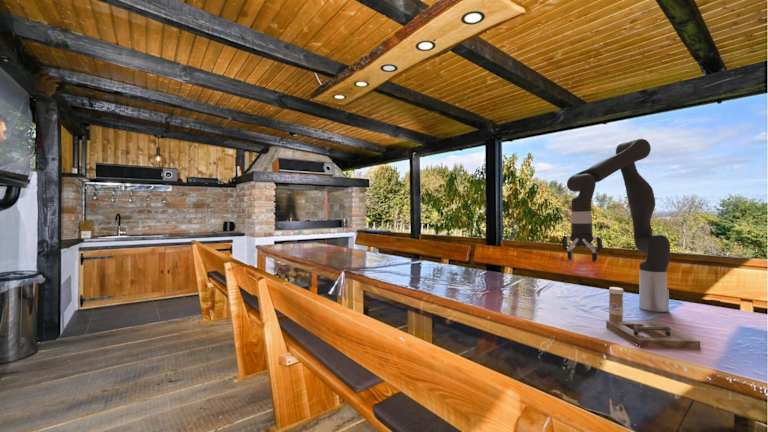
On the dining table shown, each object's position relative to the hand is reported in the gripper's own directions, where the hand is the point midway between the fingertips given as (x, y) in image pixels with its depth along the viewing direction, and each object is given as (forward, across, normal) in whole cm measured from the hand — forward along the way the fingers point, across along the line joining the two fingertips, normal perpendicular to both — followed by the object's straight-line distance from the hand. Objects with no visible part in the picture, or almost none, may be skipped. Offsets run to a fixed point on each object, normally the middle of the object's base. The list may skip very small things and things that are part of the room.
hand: (581, 260), depth 136 cm
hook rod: (+20, -24, +16) cm, 35 cm away
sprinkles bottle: (+23, -12, +1) cm, 26 cm away
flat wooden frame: (+23, -23, +11) cm, 34 cm away
